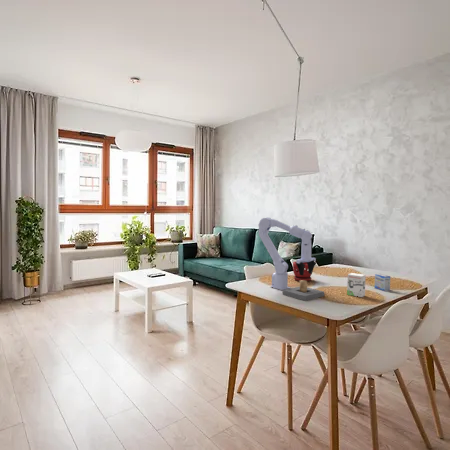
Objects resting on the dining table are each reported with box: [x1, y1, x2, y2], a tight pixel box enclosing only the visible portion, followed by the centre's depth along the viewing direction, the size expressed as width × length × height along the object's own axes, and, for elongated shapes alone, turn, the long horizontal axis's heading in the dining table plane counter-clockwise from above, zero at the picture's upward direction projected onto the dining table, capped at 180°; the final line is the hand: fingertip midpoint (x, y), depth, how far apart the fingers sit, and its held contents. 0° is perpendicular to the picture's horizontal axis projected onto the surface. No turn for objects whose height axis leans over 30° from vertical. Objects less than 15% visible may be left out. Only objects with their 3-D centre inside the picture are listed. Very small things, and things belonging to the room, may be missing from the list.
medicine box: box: [374, 273, 391, 292], centre depth 206 cm, size 8×4×9 cm, turn 21°
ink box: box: [346, 272, 366, 298], centre depth 192 cm, size 9×5×12 cm, turn 48°
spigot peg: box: [299, 280, 308, 293], centre depth 192 cm, size 4×4×8 cm
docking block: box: [282, 286, 325, 302], centre depth 192 cm, size 16×16×2 cm
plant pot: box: [292, 261, 313, 282], centre depth 231 cm, size 13×13×12 cm
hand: (306, 274), depth 203 cm, fingers open, 7 cm apart
